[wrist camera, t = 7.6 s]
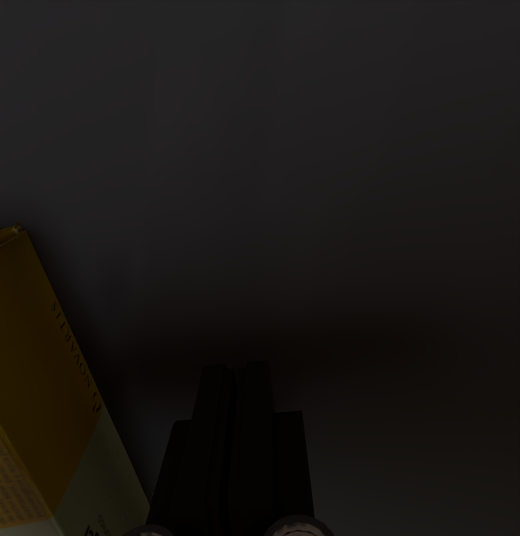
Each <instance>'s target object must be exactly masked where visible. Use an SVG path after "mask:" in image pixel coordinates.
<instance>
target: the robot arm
mask: <svg viewBox="0 0 520 536" xmlns="http://www.w3.org/2000/svg"><path fill="white" fill-rule="evenodd" d="M122 536H334V534H333V532H332V531H331V530H330V529H329V528H328V527H327V526H326V525H325V524H324V523H323V522H321V521H319V520H318V519H316V518H315V517H314V508H313V500H312V492H311V483H310V475H309V467H308V458H307V450H306V441H305V433H304V425H303V416H302V411H292V412H280V413H275V411H274V403H273V395H272V387H271V379H270V372H269V364H268V361H257V362H247V368H242V369H239V377H238V387H237V384H236V378H235V373H234V370H233V369H231V370H227V368H226V365H225V364H223V365H212V366H204V368H203V371H202V376H201V380H200V384H199V389H198V393H197V398H196V402H195V406H194V411H193V415H192V420H181V421H176V422H175V423H174V425H173V428H172V431H171V435H170V438H169V442H168V445H167V449H166V452H165V456H164V460H163V463H162V467H161V470H160V474H159V477H158V481H157V485H156V488H155V492H154V495H153V499H152V502H151V506H150V510H149V513H148V517H147V520H146V524H145V525H142V526H139V527H136V528H134V529H131V530H130V531H128V532H127V533H125V534H124V535H122Z"/></svg>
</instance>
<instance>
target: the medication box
mask: <svg viewBox="0 0 520 536" xmlns="http://www.w3.org/2000/svg"><path fill="white" fill-rule="evenodd" d="M149 510H150V505H149V502H148V500H147V498H146V495H145V493H144V491H143V489H142V486H141V484H140V482H139V480H138V477H137V475H136V473H135V470H134V468H133V466H132V464H131V461H130V459H129V457H128V455H127V452H126V450H125V448H124V446H123V443H122V441H121V439H120V437H119V435H118V433H117V430H116V428H115V426H114V424H113V422H112V420H111V417H110V415H109V413H108V411H107V408H106V406H105V404H104V402H103V400H102V397H101V395H100V393H99V391H98V388H97V386H96V384H95V382H94V380H93V377H92V375H91V373H90V371H89V368H88V366H87V364H86V362H85V359H84V357H83V355H82V353H81V351H80V348H79V346H78V344H77V342H76V340H75V337H74V335H73V333H72V331H71V329H70V326H69V324H68V322H67V320H66V317H65V315H64V313H63V311H62V309H61V306H60V304H59V302H58V300H57V297H56V295H55V293H54V291H53V289H52V287H51V284H50V282H49V280H48V278H47V276H46V273H45V271H44V269H43V267H42V265H41V263H40V260H39V258H38V256H37V254H36V252H35V249H34V247H33V245H32V243H31V241H30V239H29V236H28V234H27V232H26V231H24V230H22V227H21V226H19V223H18V222H17V223H16V224H15V225H13V227H8V228H1V229H0V536H122V535H124V534H125V533H127V532H128V531H130V530H131V529H134V528H136V527H139V526H142V525H145V524H146V520H147V517H148V513H149Z"/></svg>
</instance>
